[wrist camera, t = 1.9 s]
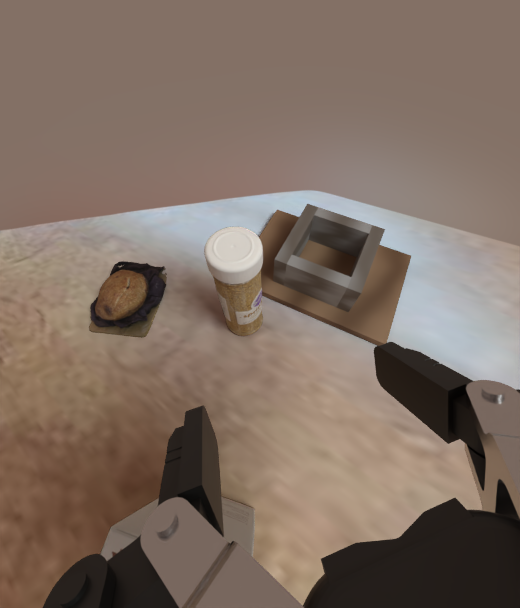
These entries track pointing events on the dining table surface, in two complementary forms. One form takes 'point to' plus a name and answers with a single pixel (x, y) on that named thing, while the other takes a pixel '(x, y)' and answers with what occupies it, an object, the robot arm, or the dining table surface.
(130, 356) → the dining table surface
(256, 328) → the sprinkles bottle
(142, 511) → the supplement box
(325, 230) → the collar board
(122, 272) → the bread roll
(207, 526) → the robot arm
